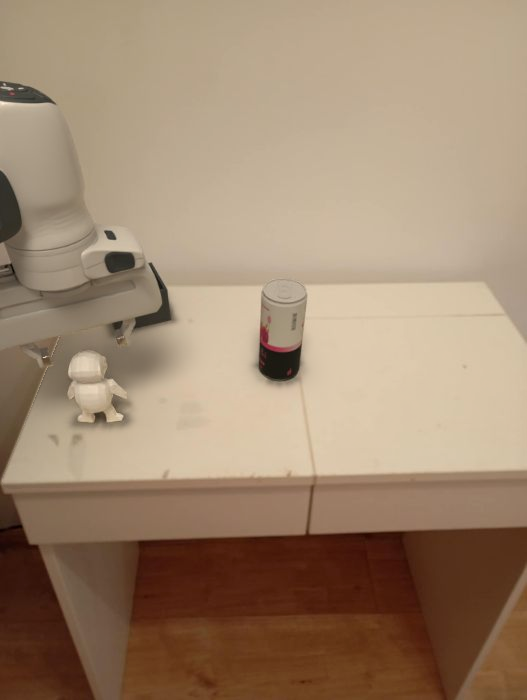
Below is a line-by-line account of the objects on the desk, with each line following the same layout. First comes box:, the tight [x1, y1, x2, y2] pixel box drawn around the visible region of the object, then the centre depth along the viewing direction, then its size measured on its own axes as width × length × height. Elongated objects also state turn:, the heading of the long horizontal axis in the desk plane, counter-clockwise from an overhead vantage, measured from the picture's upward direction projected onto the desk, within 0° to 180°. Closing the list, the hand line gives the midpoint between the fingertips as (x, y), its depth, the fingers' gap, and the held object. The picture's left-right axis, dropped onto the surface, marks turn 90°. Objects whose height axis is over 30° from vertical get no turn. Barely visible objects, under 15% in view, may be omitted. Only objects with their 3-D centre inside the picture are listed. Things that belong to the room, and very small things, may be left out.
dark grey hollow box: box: [110, 262, 172, 333], centre depth 84 cm, size 10×10×6 cm
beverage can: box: [258, 277, 308, 381], centre depth 71 cm, size 7×7×15 cm
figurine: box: [66, 349, 128, 423], centre depth 63 cm, size 8×5×12 cm, turn 93°
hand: (86, 353), depth 59 cm, fingers open, 8 cm apart
